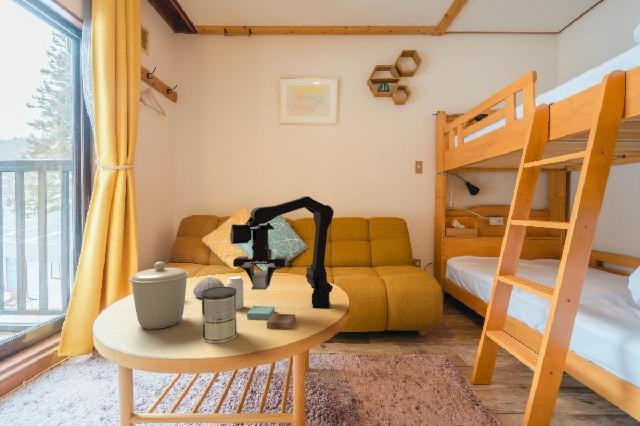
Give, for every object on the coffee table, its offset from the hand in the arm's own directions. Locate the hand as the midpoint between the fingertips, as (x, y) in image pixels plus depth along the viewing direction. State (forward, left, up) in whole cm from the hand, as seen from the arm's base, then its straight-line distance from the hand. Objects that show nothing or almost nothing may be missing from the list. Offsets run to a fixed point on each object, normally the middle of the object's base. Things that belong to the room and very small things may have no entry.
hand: (261, 285), depth 119 cm
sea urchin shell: (+29, -23, -11) cm, 39 cm away
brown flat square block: (-9, +8, -11) cm, 16 cm away
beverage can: (+12, -7, -11) cm, 18 cm away
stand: (0, 0, -11) cm, 11 cm away
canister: (+32, +10, -11) cm, 35 cm away
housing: (0, 0, -1) cm, 1 cm away
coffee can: (+8, +19, -11) cm, 24 cm away
